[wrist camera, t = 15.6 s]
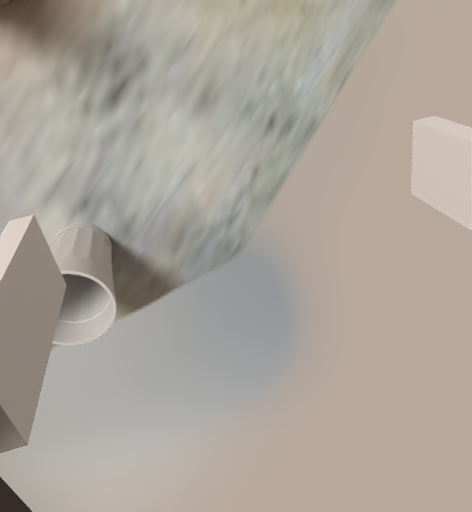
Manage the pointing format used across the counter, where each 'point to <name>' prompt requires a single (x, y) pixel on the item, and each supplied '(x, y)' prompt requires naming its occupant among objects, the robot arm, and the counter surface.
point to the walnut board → (4, 1)
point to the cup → (84, 284)
